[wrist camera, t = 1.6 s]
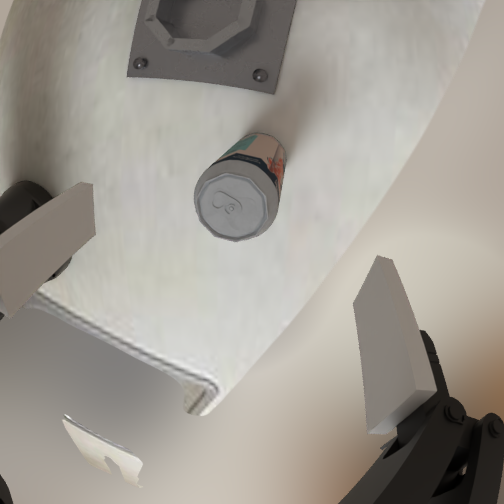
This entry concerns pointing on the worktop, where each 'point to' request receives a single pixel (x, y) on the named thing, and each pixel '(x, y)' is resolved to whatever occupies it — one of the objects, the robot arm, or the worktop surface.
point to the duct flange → (212, 41)
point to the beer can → (242, 189)
